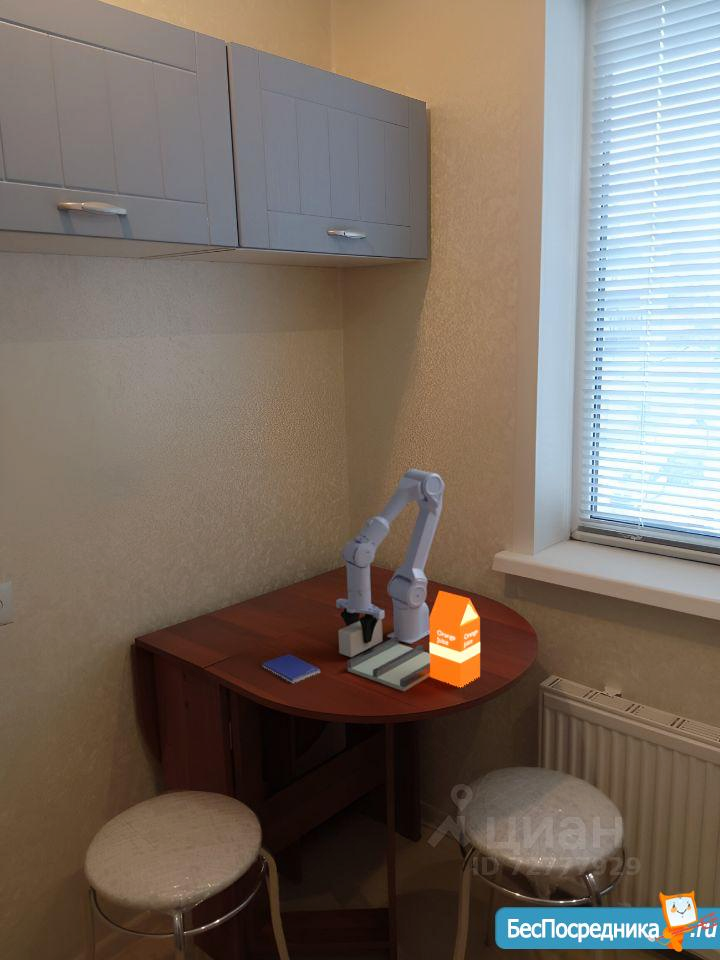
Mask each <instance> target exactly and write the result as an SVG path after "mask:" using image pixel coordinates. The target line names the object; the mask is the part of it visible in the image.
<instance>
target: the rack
mask: <svg viewBox="0 0 720 960" xmlns="http://www.w3.org/2000/svg"><path fill="white" fill-rule="evenodd" d="M346 663H347V664H346V666H347V672H350V673H353V674H355V675H357V676H358V675H359V676H361V677H363V678H366V679H369V680H372V681H374V682H377V683H380V684H382V685H384V686H388V687H391V688H393V689H396V690H399V691H402V692H405V691H407V690H409V689H411V688H412V687H414V686H415V685H417V684H419V683H421V682H422V681H425V680H426V679H428V678H429V677H430V652H425V646H424V645H422V644H419V645H417V646H416V647H410V646H408V645H404V644H401V643H400V641H399V638H396V637H394V638H390V639H389V640H387V641H385V642H383V643H382V642H381V643H379V644H377V645H375V646H373V647H371V648H369V650H368V649H367V651H366V650H365V652H364V651H363V652H361V654H360V653H359V655H358V654H357V656H356V655H355V656H353V657H351V658H350V659H348V660H347V661H346Z"/></svg>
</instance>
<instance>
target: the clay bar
mask: <svg viewBox="0 0 720 960" xmlns="http://www.w3.org/2000/svg"><path fill="white" fill-rule="evenodd" d="M382 642H383V619H381V620H378V621H377V623H376V626H375V628H374V631H373V635H372V640H371V642H369V643H367V644H366V643H364V639H363V630H362V626H361V623H360V621H358V622H356V623H353V624H351V625H349V626H347V625H346V626H345V627H343V628H339V630H338V653H339V654H341V655H344V656H346V657H350V658H354V657H356V655H358V654H360V653H363V652H364V651H366V650H368V649H371V648H373V647H375V646H377V645H379V644H381V643H382Z"/></svg>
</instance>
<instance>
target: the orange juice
mask: <svg viewBox="0 0 720 960" xmlns="http://www.w3.org/2000/svg"><path fill="white" fill-rule="evenodd" d="M429 631H430V634H429V653H430V676H429V677H430V678H432V679H435V680H438V681H440V682H442V683H445V682H446V684H448V683H449V684H448V685H452V686H455V687H456V686H457V687H456V688H459V687H460V688H459V689H461V687H462V688H464V687H465V686H467V685H469V684H470V683H472V682H474V681H475V680H477V679H479V678H480V677H481V617H480V616H479V614H478V612H477V610H476V609H475V607H474V605H473V603H472V600H471V598H469V597H465V596H462V595H458V594H454V593H451V592H447V591H442V590H439V591H438V594H437V596H436V599H435V602H434V603H433V607H432V609H431V613H430V614H429ZM478 677H479V678H478ZM476 678H477V679H476ZM474 679H475V680H474ZM471 681H472V682H471ZM469 682H470V683H469ZM466 684H467V685H466ZM464 685H465V686H464Z"/></svg>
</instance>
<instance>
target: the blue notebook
mask: <svg viewBox="0 0 720 960" xmlns="http://www.w3.org/2000/svg"><path fill="white" fill-rule="evenodd" d="M263 667H264V668H263ZM262 668H263V669H265V668H266V669H265V670H267V669H268V670H267V671H269V670H270V671H272V672H273V673H272V672H271V673H272V674H274V673H275V674H274V675H276V674H277V675H276V676H278V675H279V676H281V677H282V679H283V678H284V679H283V680H285V679H286V680H285V681H286V682H288V681H289V683H290V682H291V683H290V684H292V683H293V684H296V683H298V682H300V680H301V681H303V680H306V679H308V678H310V676H311V677H313V676H316V675H318V674H320V673H321V669H320V668H318V667H316V666H314V665H312V664H310V663H308V662H306V661H304V660H301V659H300V658H298V657H296V656H295V655H292V654H289V653H288V654H286V655H283V656H280V657H276V658H273V659H271V660H268V661H265V662H263V663H262ZM270 671H269V672H270ZM317 673H318V674H317ZM315 674H316V675H315ZM312 675H313V676H312ZM279 676H278V677H279ZM281 677H280V678H281ZM307 677H308V678H307ZM305 678H306V679H305ZM295 682H296V683H295Z"/></svg>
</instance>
